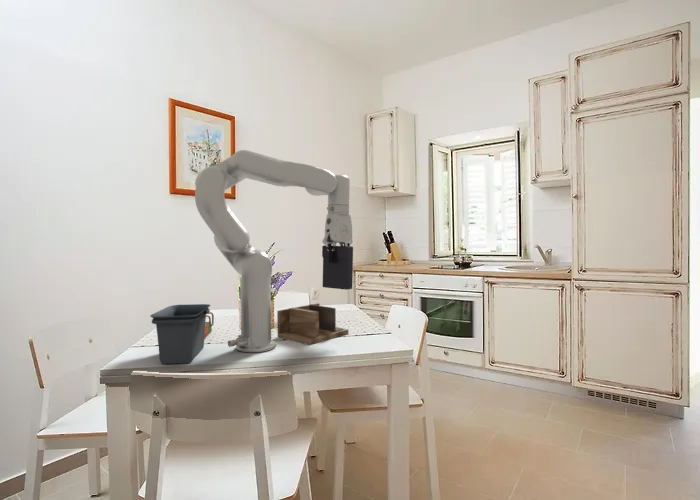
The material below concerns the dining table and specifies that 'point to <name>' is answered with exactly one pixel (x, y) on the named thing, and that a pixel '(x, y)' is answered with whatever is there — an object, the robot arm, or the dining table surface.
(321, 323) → the wooden desk organizer
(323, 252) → the black upright block
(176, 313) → the storage bin
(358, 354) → the dining table surface
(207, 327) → the green handled box
